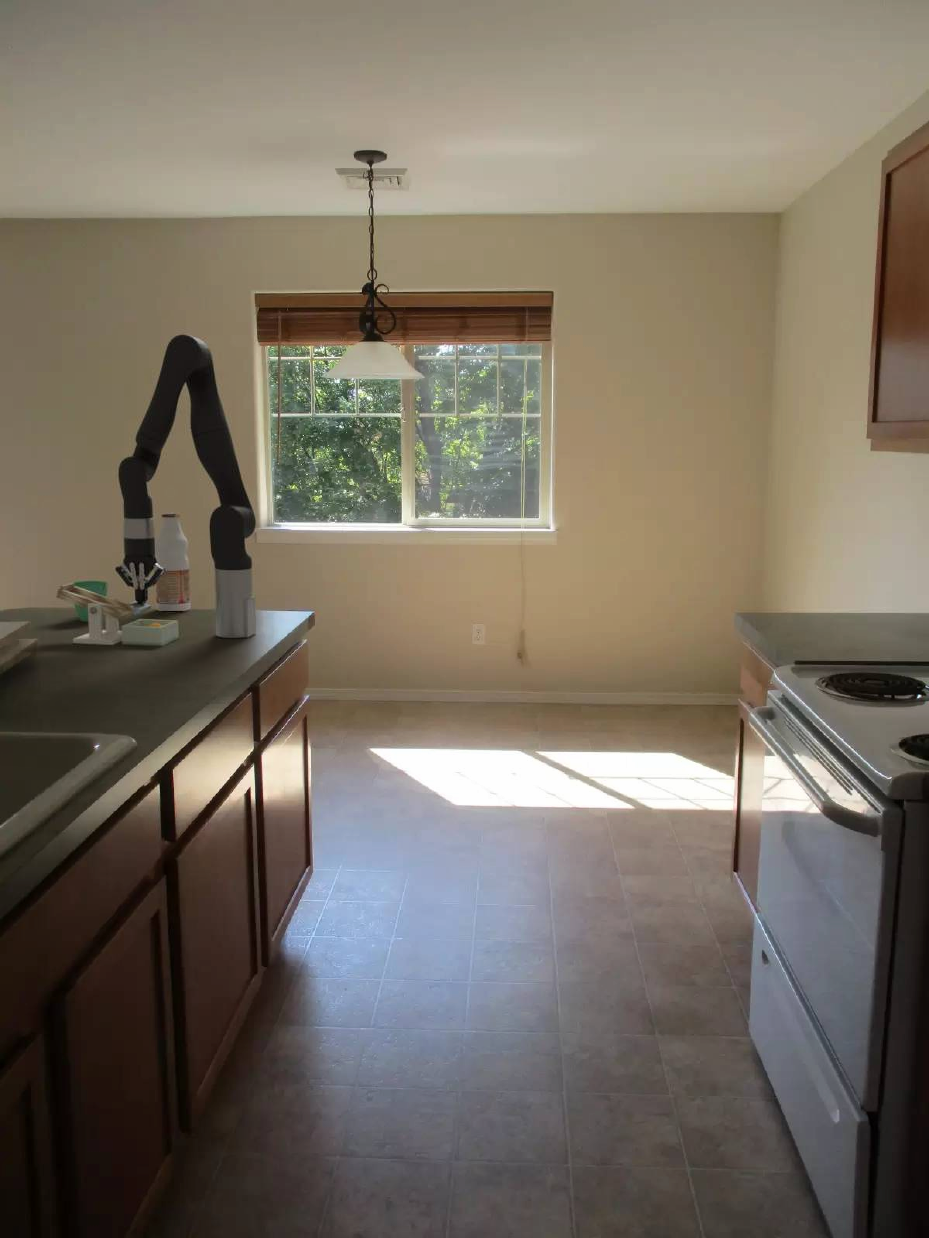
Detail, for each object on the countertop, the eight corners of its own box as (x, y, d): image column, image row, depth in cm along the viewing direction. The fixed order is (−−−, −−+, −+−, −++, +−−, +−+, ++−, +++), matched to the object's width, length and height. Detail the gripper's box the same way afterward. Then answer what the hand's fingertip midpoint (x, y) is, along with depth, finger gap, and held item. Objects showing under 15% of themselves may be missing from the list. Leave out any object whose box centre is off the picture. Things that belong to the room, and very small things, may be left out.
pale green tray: (178, 638, 252) (178, 620, 251) (161, 646, 242) (161, 627, 241) (140, 636, 253) (139, 618, 252) (122, 644, 243) (121, 626, 242)
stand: (134, 635, 254) (133, 598, 252) (112, 644, 242) (110, 605, 241) (97, 633, 255) (95, 596, 254) (73, 643, 244) (71, 604, 242)
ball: (164, 620, 248) (149, 623, 249) (157, 623, 244) (142, 626, 245) (168, 636, 249) (153, 638, 249) (161, 639, 245) (146, 642, 245)
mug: (107, 622, 271) (106, 585, 269) (68, 623, 268) (66, 586, 266) (112, 613, 285) (110, 578, 283) (75, 614, 282) (73, 578, 280)
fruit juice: (164, 613, 285) (161, 514, 280) (151, 609, 293) (148, 512, 288) (195, 610, 291) (193, 513, 286) (182, 606, 298) (179, 511, 294)
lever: (150, 608, 260) (153, 597, 260) (120, 620, 244) (123, 608, 243) (90, 587, 261) (92, 576, 261) (56, 597, 245) (59, 585, 244)
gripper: (170, 535, 258) (172, 602, 261) (121, 533, 260) (123, 600, 263) (157, 538, 251) (160, 606, 254) (107, 536, 252) (110, 604, 255)
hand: (141, 603), depth 258 cm, fingers closed
